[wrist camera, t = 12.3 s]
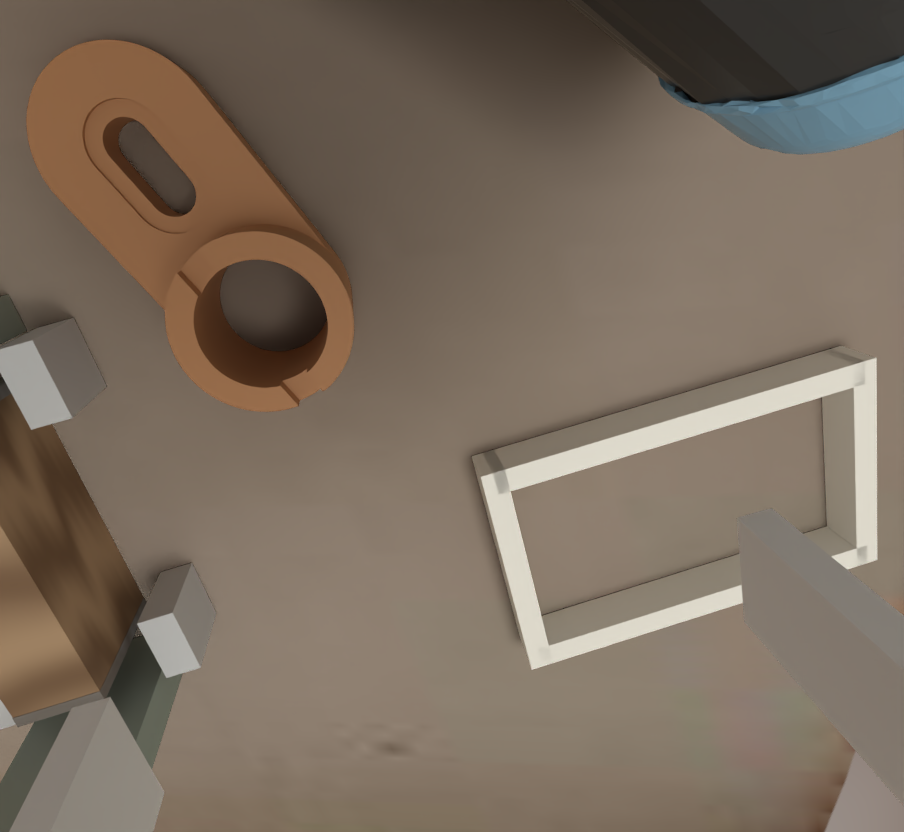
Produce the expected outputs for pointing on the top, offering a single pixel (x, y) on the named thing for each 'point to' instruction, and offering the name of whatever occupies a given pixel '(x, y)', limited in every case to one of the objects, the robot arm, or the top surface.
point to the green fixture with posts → (173, 596)
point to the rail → (55, 579)
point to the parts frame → (665, 421)
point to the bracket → (186, 216)
